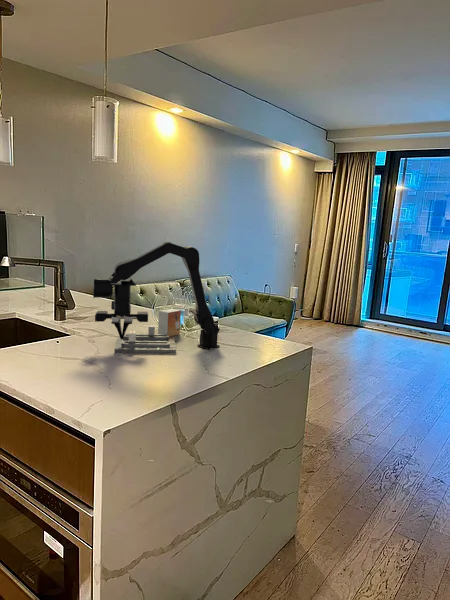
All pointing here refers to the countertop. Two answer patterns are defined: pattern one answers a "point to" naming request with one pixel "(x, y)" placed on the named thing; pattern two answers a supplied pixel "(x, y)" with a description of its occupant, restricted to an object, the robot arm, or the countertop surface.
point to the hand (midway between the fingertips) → (121, 339)
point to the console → (146, 344)
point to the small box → (169, 322)
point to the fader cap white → (132, 336)
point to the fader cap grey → (151, 330)
